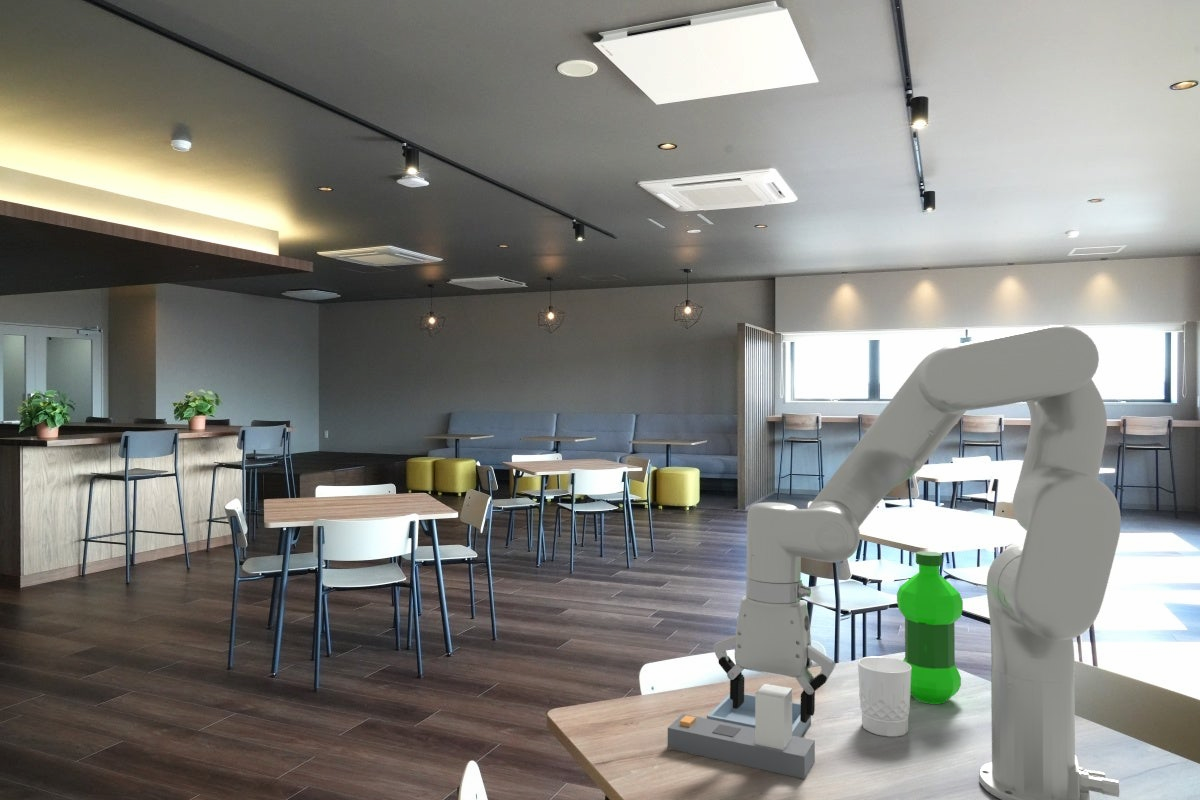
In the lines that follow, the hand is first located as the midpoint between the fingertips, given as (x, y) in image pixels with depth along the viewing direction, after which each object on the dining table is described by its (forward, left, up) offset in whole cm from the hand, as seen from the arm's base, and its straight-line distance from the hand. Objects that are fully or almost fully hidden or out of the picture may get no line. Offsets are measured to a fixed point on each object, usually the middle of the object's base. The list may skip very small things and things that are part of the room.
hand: (771, 712), depth 109 cm
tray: (+5, -10, -7) cm, 13 cm away
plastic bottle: (-17, -37, -7) cm, 42 cm away
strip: (+5, 0, -7) cm, 8 cm away
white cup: (-12, -20, -7) cm, 25 cm away
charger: (0, 0, -6) cm, 6 cm away
